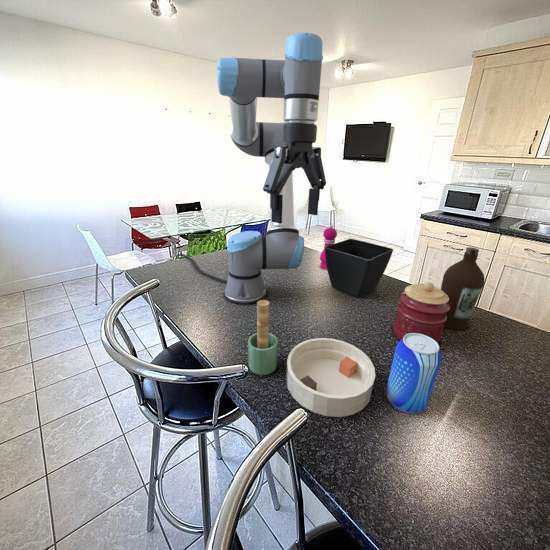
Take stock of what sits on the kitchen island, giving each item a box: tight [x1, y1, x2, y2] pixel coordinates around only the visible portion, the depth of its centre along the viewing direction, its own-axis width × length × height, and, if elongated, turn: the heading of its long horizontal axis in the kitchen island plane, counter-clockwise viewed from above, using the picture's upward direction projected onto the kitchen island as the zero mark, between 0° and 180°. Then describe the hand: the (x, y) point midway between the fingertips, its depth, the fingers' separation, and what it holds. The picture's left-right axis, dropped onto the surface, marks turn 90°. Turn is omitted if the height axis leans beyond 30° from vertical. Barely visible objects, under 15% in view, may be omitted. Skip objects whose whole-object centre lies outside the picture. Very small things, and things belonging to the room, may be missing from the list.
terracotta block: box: [339, 357, 357, 378], centre depth 71 cm, size 3×3×3 cm
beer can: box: [385, 333, 443, 414], centre depth 61 cm, size 8×8×16 cm
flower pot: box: [325, 238, 394, 298], centre depth 113 cm, size 19×19×17 cm
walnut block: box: [300, 376, 317, 391], centre depth 65 cm, size 3×3×3 cm
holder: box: [247, 332, 279, 376], centre depth 72 cm, size 7×7×8 cm
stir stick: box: [256, 299, 270, 349], centre depth 70 cm, size 3×3×18 cm
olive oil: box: [440, 246, 485, 331], centre depth 90 cm, size 11×11×25 cm
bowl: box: [285, 337, 376, 418], centre depth 68 cm, size 20×20×6 cm
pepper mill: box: [319, 224, 338, 270], centre depth 131 cm, size 7×7×20 cm
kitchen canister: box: [392, 281, 450, 344], centre depth 84 cm, size 13×13×18 cm
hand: (295, 218), depth 73 cm, fingers open, 13 cm apart
